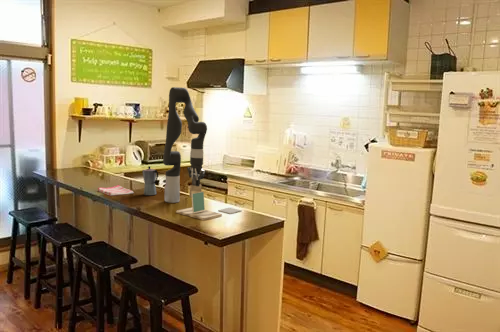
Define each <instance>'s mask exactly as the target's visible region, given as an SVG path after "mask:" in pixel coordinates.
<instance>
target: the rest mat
mask: <svg viewBox="0 0 500 332" xmlns="http://www.w3.org/2000/svg"><path fill="white" fill-rule="evenodd" d="M217 211H218V212H220V213H224V214H229V215H232V214H237V213H240V212H242V209H237V208H232V207H225V208H222V209H217Z"/></svg>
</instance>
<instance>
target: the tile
mask: <svg viewBox="0 0 500 332" xmlns="http://www.w3.org/2000/svg"><path fill="white" fill-rule="evenodd" d="M191 196H192V198H191V207H192V212H193V213H194V212H198V211H203V210H206V209H205V207H206V206H205V193H204V191H201V192H197V193H192V194H191Z"/></svg>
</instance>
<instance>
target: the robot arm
mask: <svg viewBox="0 0 500 332" xmlns="http://www.w3.org/2000/svg"><path fill="white" fill-rule="evenodd" d="M168 93H169V94H168V115H167V123H166V134H165V135H166V136H165V145H164V149H163V153H162V154H163V157H162V162H163V165H165V166H168V167H169V166H170V167H171V166H173V167H171V168H170V169H169V170H166V171H165V186H164V202H165V203H173V204H175V203H180V199H181V198H180V194H181V193H180V192H181V187H180V186H181V185H180V184H181V182H180V181H181V180H180V178H181V176H180V175H181V164H182V163H181V162H182V158H181V157H182V155H181V153H180V151H178V150H173V151H172V148H173V146H174V144H175V143H176V142H177V140H178V139H179V137H180V136H181V134H182V131H183V130H182V128H183V122H182V119H181V117H180V115H179V114H178V111H177V106H176V105H177V104H178V103H180V104H183V103H184V105H185V106H184V108H183V115H184V118H185V120H186V122H187V127H188V131H189V133H190V134H192V135H197V137H194V138H192V139H191V142H190V154H189V164H190V167H187V168H186V170H187V174H188V176H189V178H191V179H192V177H193V176H196V186H199V185H200V184H201V180H203V179H204V177H205V175H206V171H207V170H206V169H203V165H204V143H205V137H206V135H207V133H208V126H207V125H208V124H207V123H206V122H205V121H200V118H199V115H198V114H197V112H196V110H195V108H194V105H193V102H192V99H191V96H190V92H189V91H188V88H186V87H178V86H177V87H176V86H175V87H173V86H172V87H171V88H170V89H169V91H168ZM198 176H199V178H198Z"/></svg>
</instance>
